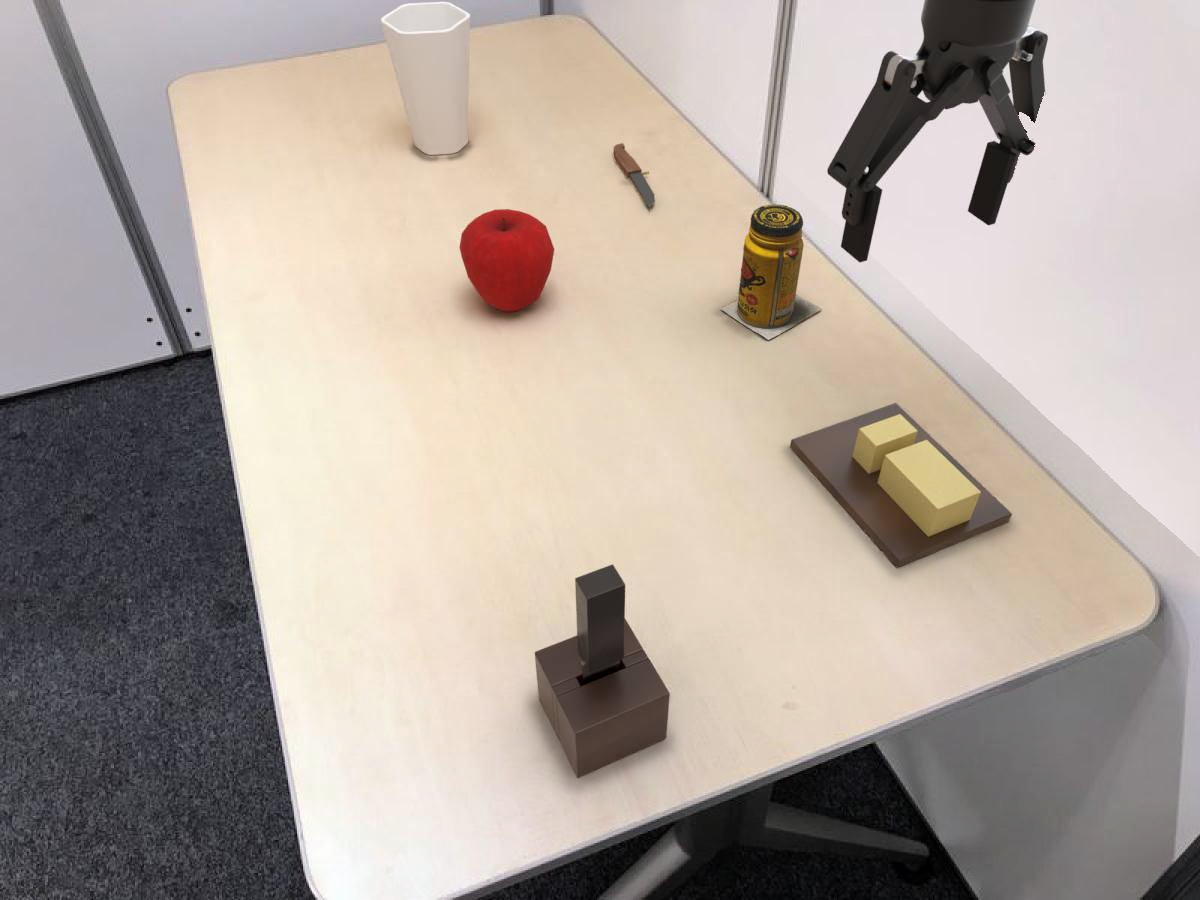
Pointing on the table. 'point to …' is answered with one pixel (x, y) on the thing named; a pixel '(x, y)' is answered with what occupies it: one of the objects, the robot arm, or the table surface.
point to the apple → (507, 258)
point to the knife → (634, 173)
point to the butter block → (928, 487)
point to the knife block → (602, 704)
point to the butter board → (870, 502)
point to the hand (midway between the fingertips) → (918, 235)
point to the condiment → (771, 273)
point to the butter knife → (600, 622)
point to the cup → (432, 72)
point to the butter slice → (882, 441)
